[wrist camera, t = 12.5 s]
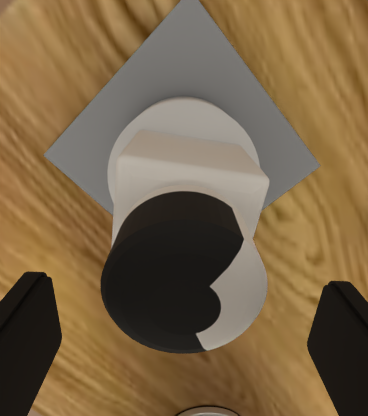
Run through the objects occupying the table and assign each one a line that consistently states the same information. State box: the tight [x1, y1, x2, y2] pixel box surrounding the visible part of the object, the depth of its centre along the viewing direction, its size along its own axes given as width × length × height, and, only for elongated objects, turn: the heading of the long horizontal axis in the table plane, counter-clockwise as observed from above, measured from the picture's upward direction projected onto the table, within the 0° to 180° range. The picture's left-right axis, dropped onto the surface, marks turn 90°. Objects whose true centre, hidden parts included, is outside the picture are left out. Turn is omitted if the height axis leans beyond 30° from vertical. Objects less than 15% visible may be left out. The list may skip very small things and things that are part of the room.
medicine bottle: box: [101, 130, 269, 353], centre depth 15 cm, size 7×7×12 cm
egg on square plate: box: [44, 0, 320, 215], centre depth 24 cm, size 18×18×8 cm
